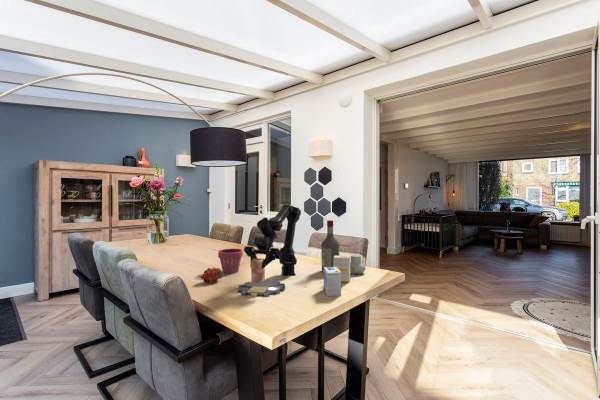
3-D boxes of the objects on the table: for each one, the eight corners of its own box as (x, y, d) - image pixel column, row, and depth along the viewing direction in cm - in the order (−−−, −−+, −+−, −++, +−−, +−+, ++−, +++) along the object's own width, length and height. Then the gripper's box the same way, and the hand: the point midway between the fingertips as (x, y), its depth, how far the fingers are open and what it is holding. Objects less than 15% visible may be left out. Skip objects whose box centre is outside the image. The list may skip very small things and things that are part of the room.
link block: (264, 279, 148) (264, 258, 148) (261, 282, 143) (261, 261, 143) (254, 279, 149) (254, 258, 149) (251, 282, 144) (250, 260, 144)
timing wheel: (248, 281, 165) (248, 278, 165) (290, 283, 160) (290, 280, 160) (229, 295, 142) (229, 292, 142) (278, 298, 138) (278, 295, 138)
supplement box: (350, 280, 164) (350, 255, 164) (349, 283, 159) (348, 257, 159) (335, 279, 167) (335, 255, 166) (333, 281, 162) (333, 256, 162)
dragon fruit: (224, 283, 167) (202, 290, 160) (218, 271, 172) (197, 278, 165) (226, 273, 162) (203, 280, 155) (219, 261, 167) (197, 268, 160)
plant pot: (247, 270, 187) (247, 249, 187) (231, 276, 175) (230, 253, 175) (230, 267, 195) (230, 247, 194) (213, 272, 183) (213, 251, 182)
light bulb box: (323, 289, 150) (323, 266, 150) (337, 288, 151) (336, 266, 151) (327, 296, 140) (326, 272, 139) (341, 295, 140) (341, 272, 140)
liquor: (328, 274, 177) (327, 221, 176) (320, 270, 185) (319, 220, 184) (341, 271, 181) (341, 220, 180) (332, 268, 189) (332, 219, 189)
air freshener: (367, 273, 177) (367, 256, 176) (357, 276, 172) (357, 258, 172) (354, 269, 186) (354, 253, 186) (344, 272, 181) (344, 255, 181)
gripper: (245, 229, 153) (232, 256, 143) (278, 231, 146) (267, 259, 136) (254, 243, 160) (242, 269, 151) (286, 245, 153) (276, 273, 143)
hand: (256, 267), depth 145 cm, fingers closed on link block, 6 cm apart
